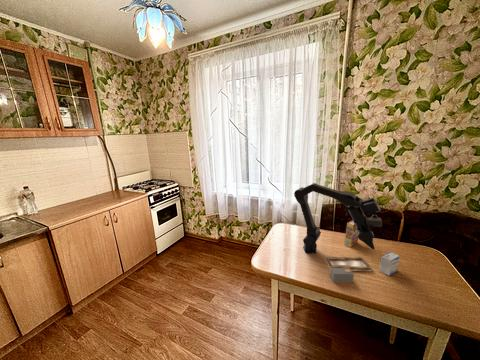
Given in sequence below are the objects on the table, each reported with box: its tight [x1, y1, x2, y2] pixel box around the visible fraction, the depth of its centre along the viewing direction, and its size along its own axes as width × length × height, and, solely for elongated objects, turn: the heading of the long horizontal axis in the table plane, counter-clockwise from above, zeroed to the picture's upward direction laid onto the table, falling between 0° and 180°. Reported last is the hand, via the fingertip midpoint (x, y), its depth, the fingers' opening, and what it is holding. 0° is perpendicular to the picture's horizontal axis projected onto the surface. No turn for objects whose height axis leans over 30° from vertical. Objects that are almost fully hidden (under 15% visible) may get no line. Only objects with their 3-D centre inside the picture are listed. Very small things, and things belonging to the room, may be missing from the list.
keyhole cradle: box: [324, 256, 373, 272], centre depth 106 cm, size 20×9×2 cm, turn 85°
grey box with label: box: [329, 268, 355, 284], centre depth 95 cm, size 9×4×5 cm, turn 86°
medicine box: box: [379, 252, 401, 277], centre depth 100 cm, size 8×4×9 cm, turn 117°
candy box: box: [343, 219, 360, 248], centre depth 124 cm, size 9×4×15 cm, turn 123°
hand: (372, 244), depth 98 cm, fingers open, 9 cm apart
